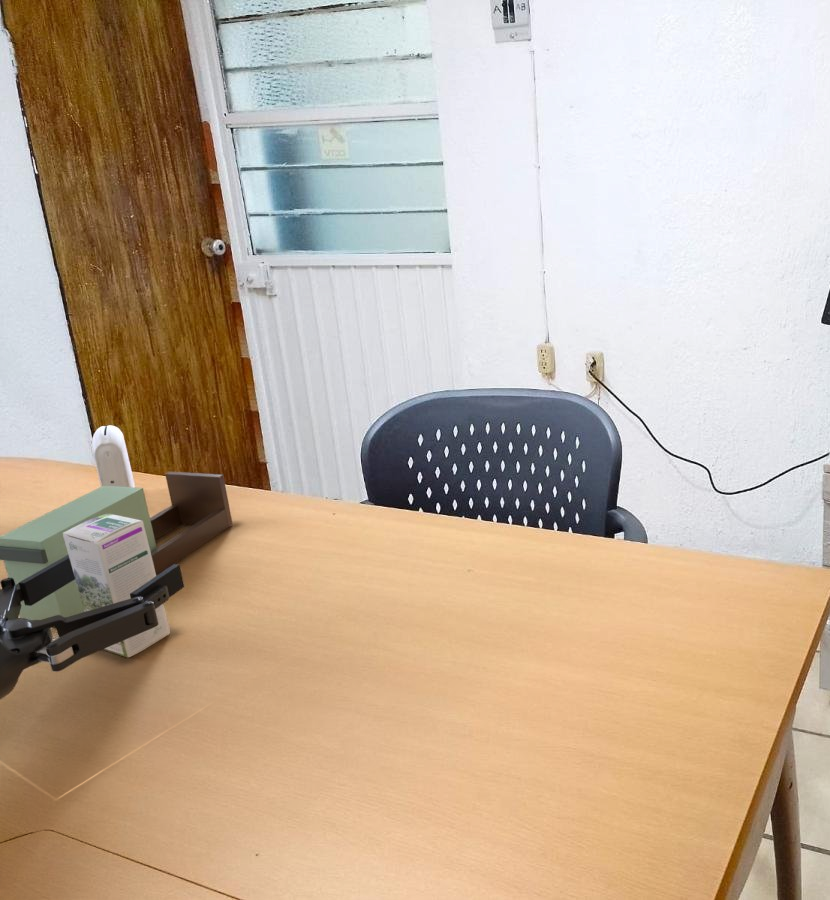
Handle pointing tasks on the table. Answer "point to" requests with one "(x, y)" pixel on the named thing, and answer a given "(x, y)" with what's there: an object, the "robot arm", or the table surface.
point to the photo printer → (111, 457)
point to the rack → (190, 515)
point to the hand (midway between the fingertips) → (125, 570)
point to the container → (46, 544)
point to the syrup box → (114, 570)
